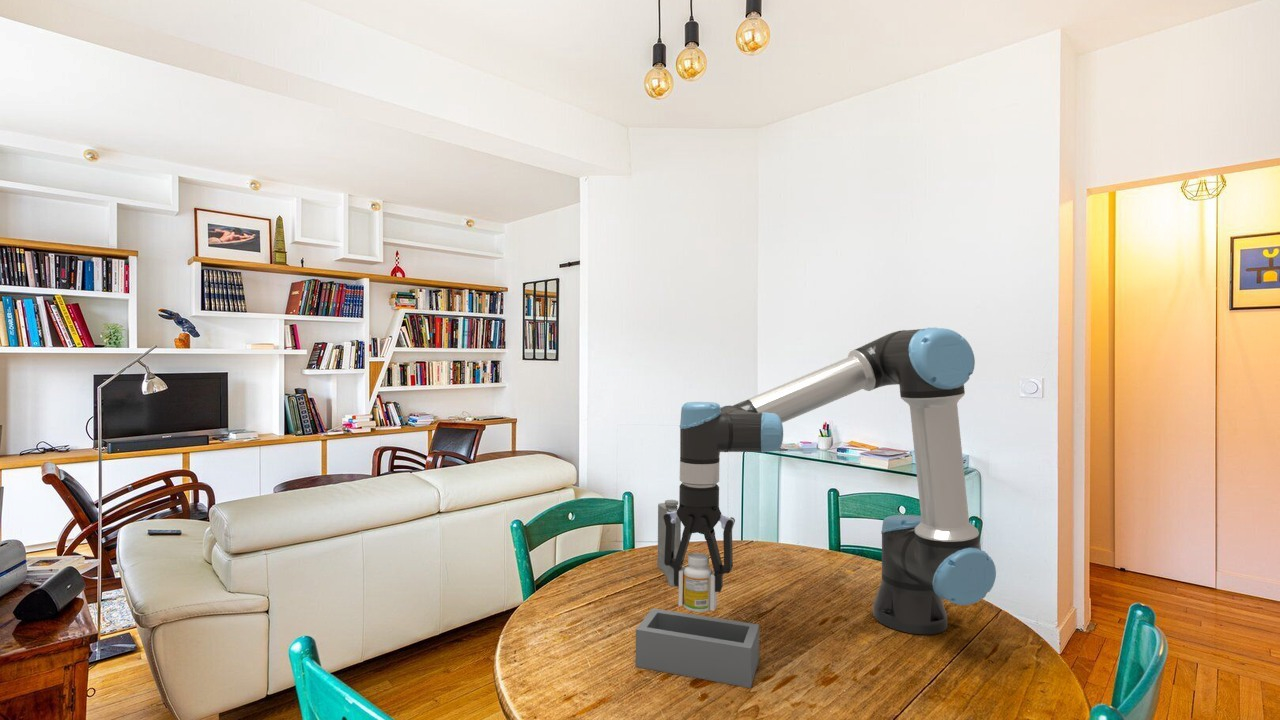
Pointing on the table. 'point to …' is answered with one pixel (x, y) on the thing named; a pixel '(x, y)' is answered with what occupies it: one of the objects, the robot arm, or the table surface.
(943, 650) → the table surface
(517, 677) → the table surface
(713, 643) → the tray
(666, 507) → the hip flask
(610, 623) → the table surface
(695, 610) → the supplement bottle
